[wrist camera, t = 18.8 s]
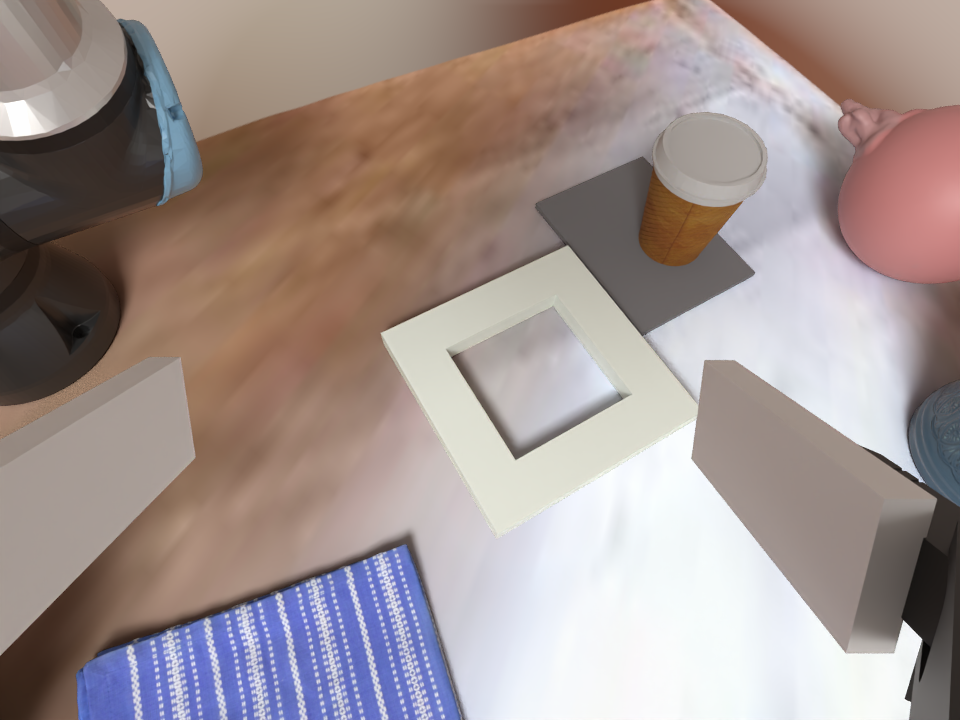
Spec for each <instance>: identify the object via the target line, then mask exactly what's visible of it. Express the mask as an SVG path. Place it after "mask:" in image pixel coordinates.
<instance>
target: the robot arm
mask: <svg viewBox="0 0 960 720" xmlns="http://www.w3.org/2000/svg"><path fill="white" fill-rule="evenodd" d="M202 175H203V167H202V161H201V157H200V154H199V150H198V147H197V144H196V141H195V138H194V135H193V133H192V130H191V127H190V125H189V122H188V119H187V117H186V115H185V113H184V111H183V110H182V105H181V102H180V100H179V97H178V94H177V91H176V89H175V86H174V84H173V81H172V79H171V77H170V74H169V72H168V70H167V67H166V65H165V63H164V61H163V58H162V56H161V54H160V52H159V50H158V48H157V46H156V44H155V42H154V40H153V38H152V36H151V34H150V33H149V31H148V29H147V28H146V27H145V26H144V25H143V24H142V23H140V22H139V21H136V20H123V19H118V20H116V18H115V17H114V16H113V15H112V13H111V12H110V11H109V10H108V9H107V7H105V5H104V4H103V3H102V2H101V1H99V0H0V406H8V405H17V404H23V403H28V402H32V401H35V400H38V399H41V398H44V397H47V396H49V395H52V394H54V393H56V392H58V391H60V390H62V389H64V388H65V387H67V386H69V385H70V384H72V383H73V382H75V381H76V380H78V379H79V378H80V377H82V376H83V375H84V374H85V373H86V372H88V371H89V370H90V369H91V368H92V367H93V366H94V365H95V364H96V363H97V362H98V360H99V359H100V358H101V357H102V356H103V354H104V353H105V352H106V350H107V349H108V347H109V345H110V344H111V342H112V340H113V338H114V336H115V333H116V331H117V327H118V324H119V318H120V303H119V299H118V295H117V293H116V290H115V289H114V287H113V285H112V284H111V283H110V281H109V280H108V279H107V278H106V277H105V276H104V275H103V274H102V273H101V272H100V271H99V270H98V269H97V268H96V267H95V266H94V265H93V264H92V263H90V262H89V261H88V260H86V259H85V258H83V257H81V256H79V255H77V254H75V253H73V252H71V251H69V250H67V249H65V248H63V247H61V246H59V245H56V244H54V243H52V242H50V241H52V240H55V239H58V238H61V237H64V236H67V235H70V234H73V233H76V232H79V231H82V230H85V229H88V228H91V227H94V226H97V225H100V224H103V223H106V222H109V221H112V220H115V219H118V218H121V217H124V216H127V215H130V214H132V213H135V212H138V211H141V210H144V209H147V208H150V207H153V206H160V205H163V204H164V203H166V202H167V201H168V199H170V198H173V197H175V196H178V195H180V194H182V193H185V192H187V191H190V190H192V189H193V188H195V187H196V186H197V185H198V184H199V182H200V181H201V178H202ZM195 458H196V457H195V451H194V444H193V437H192V431H191V424H190V417H189V411H188V404H187V397H186V391H185V384H184V377H183V371H182V364H181V357H148V358H147V359H145V360H143V361H141V362H139V363H138V364H136V365H134V366H132V367H130V368H129V369H127V370H125V371H123V372H121V373H120V374H118V375H116V376H114V377H112V378H111V379H109V380H107V381H105V382H103V383H102V384H100V385H98V386H96V387H94V388H93V389H91V390H89V391H87V392H85V393H84V394H82V395H80V396H78V397H76V398H75V399H73V400H71V401H69V402H67V403H66V404H64V405H62V406H60V407H58V408H57V409H55V410H53V411H51V412H49V413H48V414H46V415H44V416H42V417H40V418H39V419H37V420H35V421H33V422H31V423H30V424H28V425H26V426H24V427H22V428H21V429H19V430H17V431H15V432H13V433H11V434H10V435H8V436H6V437H4V438H2V439H1V440H0V655H1V654H2V653H3V652H4V651H5V650H6V649H7V648H8V647H9V646H10V645H11V644H12V643H13V642H14V641H15V640H16V639H17V638H18V637H19V636H20V635H21V634H22V633H23V632H24V631H25V630H26V629H27V628H28V627H29V626H30V625H31V624H32V623H33V622H34V621H35V620H36V619H37V618H38V617H39V616H40V615H41V614H42V613H43V612H44V611H45V610H46V609H47V608H48V607H49V606H50V605H51V604H52V603H53V602H54V601H55V600H56V599H57V598H58V597H59V596H60V595H61V594H62V593H63V592H64V591H65V590H66V589H67V587H68V586H69V585H70V584H71V583H72V582H73V581H74V580H75V579H76V578H77V577H78V576H79V575H80V574H81V573H82V572H83V571H84V570H85V569H86V568H87V567H88V566H89V565H90V564H91V563H92V562H93V561H94V560H95V559H96V558H97V557H98V556H99V555H100V554H101V553H102V552H103V551H104V550H105V549H106V548H107V547H108V546H109V545H110V544H111V543H112V542H113V541H114V540H115V539H116V538H117V537H118V536H119V535H120V534H121V533H122V532H123V531H124V530H125V529H126V528H127V527H128V526H129V525H130V524H131V523H132V522H133V521H134V519H135V518H136V517H137V516H138V515H139V514H140V513H141V512H142V511H143V510H144V509H145V508H146V507H147V506H148V505H149V504H150V503H151V502H152V501H153V500H154V499H155V498H156V497H157V496H158V495H159V494H160V493H161V492H162V491H163V490H164V489H165V488H166V487H167V486H168V485H169V484H170V483H171V482H172V481H173V480H174V479H175V478H176V477H177V476H178V475H179V474H180V473H181V472H182V471H183V470H184V469H185V468H186V467H187V466H188V465H189V464H190V463H191V462H192V461H193V460H194V459H195ZM691 459H692V460H693V461H694V463H695V464H696V465H697V466H698V468H699V469H700V470H701V471H702V473H703V474H704V475H705V476H706V478H707V479H708V480H709V481H710V483H711V484H712V485H713V487H714V488H715V489H716V490H717V492H718V493H719V494H720V495H721V497H722V498H723V499H724V500H725V502H726V503H727V504H728V505H729V507H730V508H731V509H732V510H733V512H734V513H735V514H736V515H737V517H738V518H739V519H740V521H741V522H742V523H743V524H744V526H745V527H746V528H747V529H748V531H749V532H750V533H751V534H752V536H753V537H754V538H755V539H756V541H757V542H758V543H759V544H760V546H761V547H762V548H763V549H764V551H765V552H766V553H767V555H768V556H769V557H770V558H771V560H772V561H773V562H774V563H775V565H776V566H777V567H778V568H779V570H780V571H781V572H782V573H783V575H784V576H785V577H786V578H787V580H788V581H789V582H790V583H791V585H792V586H793V587H794V589H795V590H796V591H797V592H798V594H799V595H800V596H801V597H802V599H803V600H804V601H805V602H806V604H807V605H808V606H809V607H810V609H811V610H812V611H813V612H814V614H815V615H816V616H817V617H818V619H819V620H820V621H821V623H822V624H823V625H824V626H825V628H826V629H827V630H828V631H829V633H830V634H831V635H832V636H833V638H834V639H835V640H836V641H837V643H838V644H839V645H840V646H841V648H842V649H843V650H844V651H845V653H894V651H895V648H896V644H897V641H898V637H899V634H900V630H901V626H902V623H903V620H904V621H905V622H906V623H907V624H908V625H909V626H910V627H911V628H912V629H913V630H914V631H915V632H916V633H917V634H918V635H919V636H920V637H921V638H922V643H921V646H920V649H919V653H918V656H917V659H916V663H915V666H914V669H913V673H912V676H911V680H910V683H909V686H908V690H907V693H906V696H905V699H906V700H908V701H910V702H911V709H910V717H909V720H960V507H959V506H957V505H956V504H954V503H953V502H951V501H950V500H948V499H947V498H945V497H944V496H942V495H941V494H939V493H938V492H936V491H935V490H933V489H932V488H930V487H929V486H927V485H926V484H924V483H923V482H919V479H917V478H916V477H914V476H913V475H911V474H910V473H908V472H907V471H902V468H901V467H899V466H898V465H896V464H895V463H893V462H892V461H890V460H889V459H887V458H886V457H884V456H883V455H881V454H879V453H876V452H874V451H871V450H869V449H867V448H864V447H862V446H860V445H858V444H856V443H855V442H853V441H852V440H850V439H849V438H847V437H846V436H844V435H843V434H841V433H840V432H839V431H837V430H836V429H834V428H833V427H831V426H830V425H828V424H827V423H825V422H824V421H822V420H821V419H820V418H818V417H817V416H815V415H814V414H812V413H811V412H809V411H808V410H806V409H805V408H803V407H802V406H801V405H799V404H798V403H796V402H795V401H793V400H792V399H790V398H789V397H787V396H786V395H784V394H783V393H781V392H780V391H779V390H777V389H776V388H774V387H773V386H771V385H770V384H768V383H767V382H765V381H764V380H762V379H761V378H760V377H758V376H757V375H755V374H754V373H752V372H751V371H749V370H748V369H746V368H745V367H743V366H742V365H741V364H739V363H738V362H736V361H735V360H705V361H704V369H703V376H702V384H701V391H700V399H699V406H698V414H697V421H696V428H695V436H694V443H693V451H692V458H691Z"/></svg>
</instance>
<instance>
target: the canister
mask: <svg viewBox="0 0 960 720" xmlns="http://www.w3.org/2000/svg"><path fill="white" fill-rule="evenodd" d="M909 445H910V450H911V454H912V457H913V460H914V462H915V465H916V467H917V469H918V471H919V473H920V474H921V476H922V478H923V479H924V481H925V482H926V483H927V485H928V486H929V487H930V488H932V489H933V490H935V491H936V492H938V493H939V494H941V495H942V496H944V497H945V498H947V499H948V500H950V501H951V502H953V503H954V504H956V505H957V506H959V507H960V380H958V381H954V382H951V383H949V384H947V385H945V386H943V387H941V388H940V389H938V390H936V391H935V392H933V393H932V394H931V395H929V396H928V397H927V398H926V400H925V401H924V402H923V403H922V404H921V405H920V406H919V407H918V408H917V410H916V411H915V413H914V415H913V417H912V419H911V422H910V426H909Z"/></svg>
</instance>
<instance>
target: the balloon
mask: <svg viewBox="0 0 960 720" xmlns="http://www.w3.org/2000/svg"><path fill="white" fill-rule="evenodd" d="M841 109H842V112H843V114H844V115H843V116H842V117H841V118H840V119H839V121H838V128H839V131H840V132H841V134H842V135H843V136H844V137H845V138H846V139H847V140H848V141H849V142H850V143H851V144H852V145H853V146H854V147H855V150H856V151H855V154H854V157H853V164H852V165H851V167H850V168H849V170H848V172H847V174H846V176H845V178H844V181H843V183H842V186H841V190H840V194H839V200H838V219H839V225H840V228H841V232H842V234H843V237H844V239H845V241H846V242H847V244H848V246H849V247H850V249H851V250H852V251H853V253H854V254H855V255H856V256H857V257H858V258H859V259H860V260H861V261H862V262H864V263H865V264H866V265H867V266H869V267H870V268H872V269H874V270H875V271H877V272H879V273H881V274H883V275H886V276H888V277H891V278H894V279H897V280H901V281H906V282H912V283H922V284H935V283H947V282H953V281H958V280H960V105H953V106H945V107H940V108H935V109H930V110H927V109H914V110H910V111H908V112H906V113H904V114H899V113H898V112H896V111H893V110H883V109H870V108H868V107H866V106H863V105H862V104H860V103H857V102H854V101H853V100H852V99H847V100H845V101H843V102H842V104H841Z"/></svg>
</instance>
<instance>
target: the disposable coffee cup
mask: <svg viewBox="0 0 960 720" xmlns="http://www.w3.org/2000/svg"><path fill="white" fill-rule="evenodd" d="M652 158H653V171H652V176H651V181H650V185H649V189H648V194H647V199H646V203H645V208H644V213H643V218H642V219H643V220H642V223H641V227H640V232H639V244H640V246H641V248H642V250H643V251H644V253H645V254H646V255H647V256H649V257H650V258H651V259H652V260H654V261H656V262H658V263H660V264H664V265H667V266H683V265H686V264H689V263H691V262H692V261H694V260H695V259H696V258H697V257H698V256H699V254H700V253H701V252H702V251H703V249H704V248H705V247H706V246H707V245H708V243H709V242H710V241H711V240H712V239H713V237H714V236H715V235H716V234H717V233H718V231H719V230H720V229H721V228H722V226H723V225H724V224H725V223H726V222H727V221H728V219H729V218H730V217H731V216H732V214H733V213H734V212H735V211H736V210H737V208H738V207H739V206H740V205H741V204H742V202H743V201H744V200H745V199H746V198H748V197H750V196H751V195H753V194H754V193H755V192H756V191H757V190H758V189H759V188H760V187H761V186H762V184H763V182H764V180H765V178H766V172H767V168H766V165H767V158H768V156H767V149H766V147H765V145H764V143H763V141H762V139H761V138H760V137H759V135H758V134H757V133H756V132H755V131H754V130H753V129H751V128H750V127H749V126H748V125H746V124H744V123H743V122H741V121H739V120H737V119H735V118H732V117H729V116H726V115H723V114H717V113H710V112H700V113H691V114H688V115H684V116H682V117H680V118H678V119H676V120H675V121H673V122H672V123H671V124H670V125H669V126H668V127H667V129H665V130H664V131H663V132H662V133H661V134H660V135H659V136H658V138H657V139H656V141H655V143H654V146H653V151H652Z"/></svg>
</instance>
